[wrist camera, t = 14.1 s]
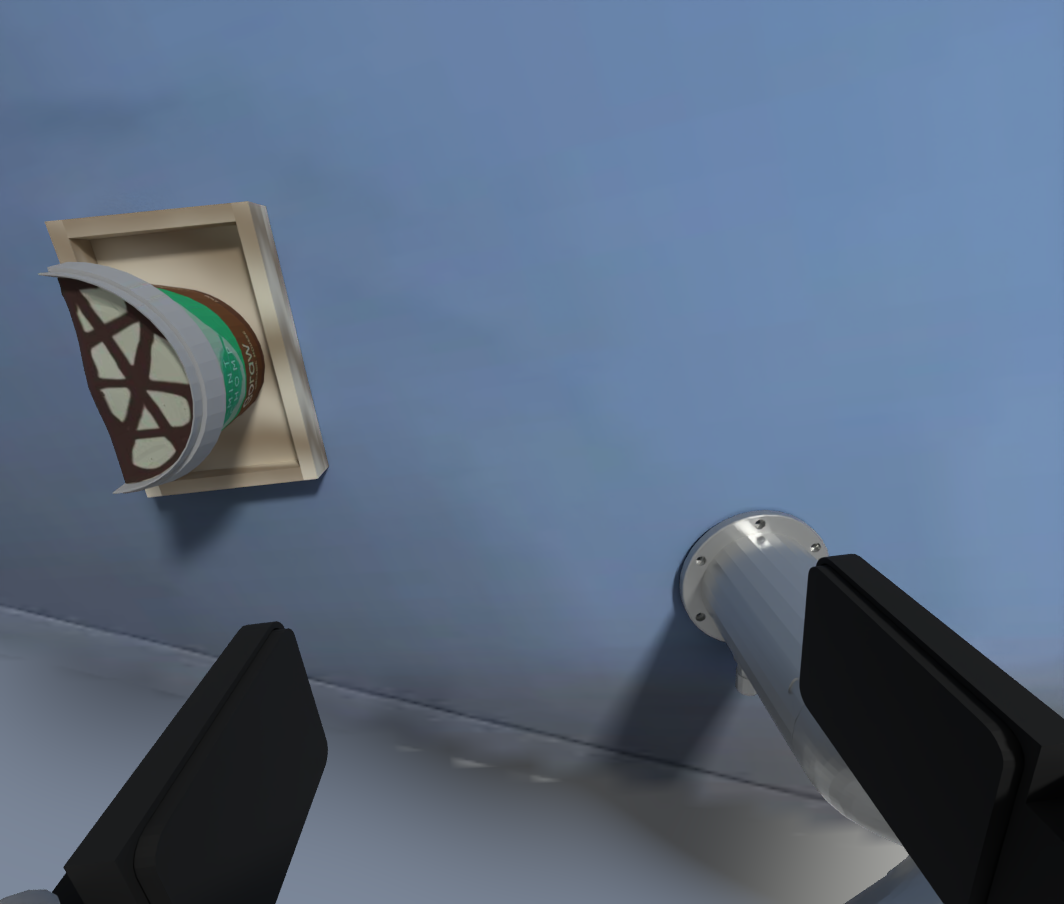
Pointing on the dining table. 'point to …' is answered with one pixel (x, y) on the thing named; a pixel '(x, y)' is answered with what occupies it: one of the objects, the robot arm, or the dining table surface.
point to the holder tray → (250, 289)
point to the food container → (160, 367)
